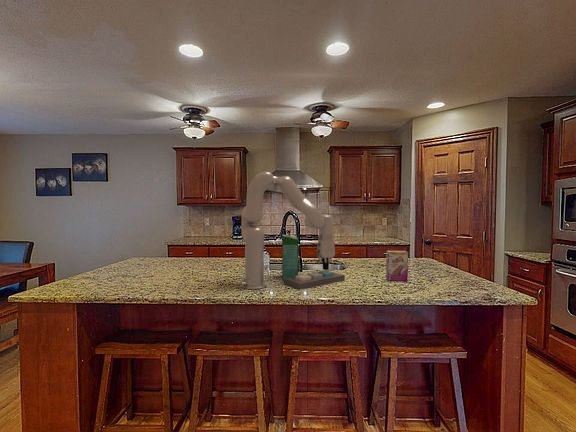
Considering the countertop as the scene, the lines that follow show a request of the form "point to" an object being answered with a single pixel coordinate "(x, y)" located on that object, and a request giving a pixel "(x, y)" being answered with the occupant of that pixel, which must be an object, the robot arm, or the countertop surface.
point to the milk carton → (289, 256)
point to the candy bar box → (397, 266)
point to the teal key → (326, 273)
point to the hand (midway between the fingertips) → (325, 269)
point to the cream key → (303, 277)
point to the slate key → (315, 275)
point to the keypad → (313, 281)
